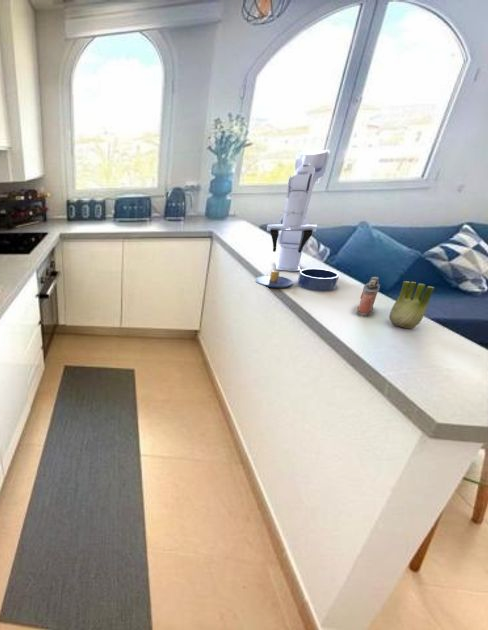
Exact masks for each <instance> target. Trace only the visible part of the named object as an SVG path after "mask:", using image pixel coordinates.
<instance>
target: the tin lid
mask: <svg viewBox="0 0 488 630" xmlns="http://www.w3.org/2000/svg"><path fill="white" fill-rule="evenodd" d="M254 280H255V283H256V284H258V285H260V286H263V287H266V288H273V289H281V288H289V287H292V285H293V280H291V279H290V278H287V277H284V276H280V270H277V269H276V270H275V269H274V270H271V272H270V275H260V276H257V277H255V279H254Z"/></svg>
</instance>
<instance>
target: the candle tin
mask: <svg viewBox="0 0 488 630" xmlns="http://www.w3.org/2000/svg"><path fill="white" fill-rule="evenodd" d="M339 277H340V275H339V273H338V272H336V271H333V270H329V269H324V268H304V269H301V271H299V273H298V278H297V286H298V287H301V288H302V289H306V290H309V291H316V292H329V291H334V290H335V289H336V287H337V284H338V280H339Z"/></svg>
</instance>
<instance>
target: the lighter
mask: <svg viewBox="0 0 488 630" xmlns="http://www.w3.org/2000/svg"><path fill="white" fill-rule="evenodd" d="M379 280H380V279H379V276H378V277H377V276H372V277H370V280H368V281H369V282H367V283H365V284H364V285H363V289H362V292H361V294H360V300H359V305H358V306H357V308H356V311H355V312H356V315H357V316H360V317H369V316H370V315H372V313H373V311H374V304H375V301H376V298H377V296H378V293H379V291H380V288H381V284H379Z"/></svg>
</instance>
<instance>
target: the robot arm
mask: <svg viewBox="0 0 488 630" xmlns="http://www.w3.org/2000/svg"><path fill="white" fill-rule="evenodd" d="M330 153H331V151H330V149H325V150H308V151H301V150H300V151H298V153H297V154H296V157H295V164H294V174H293V175H292V176H289V178H288V181H287V187H286V204H285V206H284V207H285V208H284V212H283V213H284V214H283V219H282V223H279V224H278V223H275V224H274V223H273V224H267V227H266V231H267V232H269V234H270V237H271V240H272V252H276V251H277V244H278V245H280V246H279V247H280V250H279V254H278V255H279V256H278V261H277V262H275V268H276V271H289V272H290V271H291V272H300V271H301V270H302V269H301V267H300V263H301V258H302V253H303V249H304V247H306V246H307V245H308V244H309V241H310V238H311V237H312V235H313V233H314V232H315V233H317V229H318V225H317V224H310V223H309V222H308V221H307V220H306V218H307V217H306V216H307V212H308V210H309V209H308V208H309V204H310V201H311V197H312V193H313V189H314V186H315V184H316V182H317V180H318V179H320V178H322V177H324V175H325V173H326V169H327V166H328V162H329V159H330Z"/></svg>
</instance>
